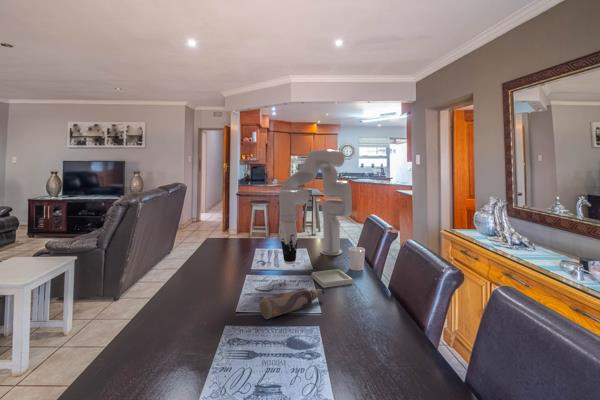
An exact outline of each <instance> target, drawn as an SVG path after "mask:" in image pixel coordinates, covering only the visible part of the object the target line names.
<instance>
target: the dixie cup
mask: <svg viewBox="0 0 600 400" xmlns="http://www.w3.org/2000/svg"><path fill="white" fill-rule="evenodd" d="M298 239H299V238H298V237H297V236H296V252H297V248H298ZM279 240H280V243H281V250H282V257H283V261H284V264H287V265H293V264H295V263H296V260H297V258H296V259H289V245H288V244H287V245H286V244H285V241H284V240H282V238H281V237H280V239H279ZM289 243H292V241H290V242H289ZM290 246H291V245H290Z"/></svg>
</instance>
